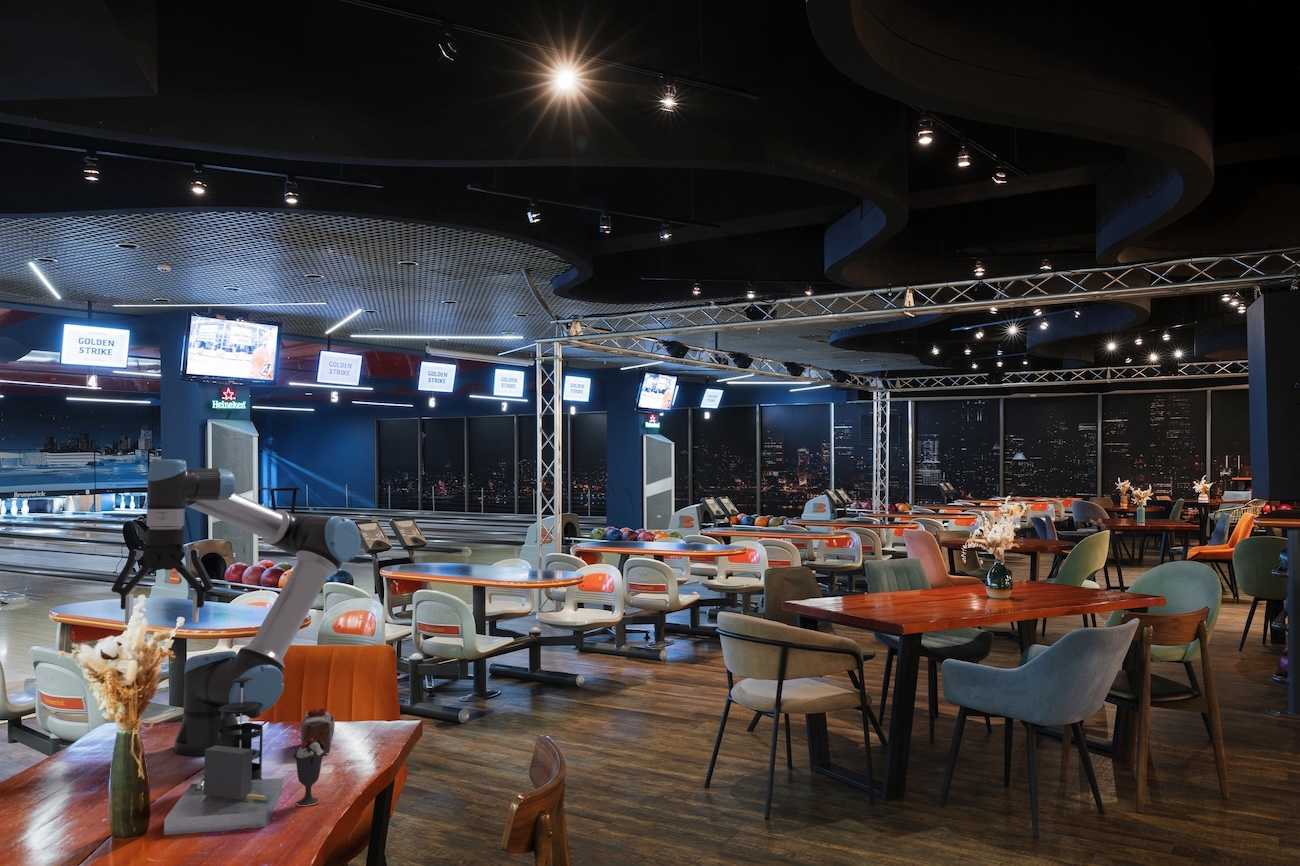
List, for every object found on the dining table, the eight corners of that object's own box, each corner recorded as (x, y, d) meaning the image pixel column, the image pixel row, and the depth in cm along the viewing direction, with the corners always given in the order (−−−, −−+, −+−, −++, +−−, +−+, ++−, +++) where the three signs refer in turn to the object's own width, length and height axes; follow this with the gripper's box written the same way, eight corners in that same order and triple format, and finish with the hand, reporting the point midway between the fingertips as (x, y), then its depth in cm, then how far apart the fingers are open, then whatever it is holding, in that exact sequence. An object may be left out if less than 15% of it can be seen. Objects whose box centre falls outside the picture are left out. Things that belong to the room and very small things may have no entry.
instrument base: (191, 798, 192) (191, 775, 192) (282, 792, 196) (282, 769, 196) (163, 835, 172) (164, 809, 172) (265, 827, 176) (266, 802, 177)
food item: (300, 742, 232) (301, 703, 233) (333, 739, 235) (334, 700, 235) (300, 758, 219) (301, 716, 220) (335, 754, 222) (336, 714, 223)
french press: (255, 791, 196) (258, 683, 197) (209, 793, 195) (212, 684, 196) (268, 773, 208) (271, 671, 209) (224, 775, 206) (227, 672, 207)
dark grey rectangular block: (203, 794, 184) (204, 749, 184) (214, 789, 187) (215, 745, 187) (259, 802, 180) (260, 755, 181) (269, 796, 183) (271, 751, 183)
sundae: (292, 810, 185) (294, 735, 186) (289, 800, 191) (291, 727, 192) (327, 805, 188) (328, 731, 189) (322, 795, 194) (324, 723, 195)
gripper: (97, 529, 198) (94, 627, 197) (221, 528, 204) (218, 624, 203) (109, 527, 205) (106, 622, 204) (229, 526, 211) (226, 619, 210)
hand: (162, 623), depth 204 cm, fingers open, 13 cm apart
